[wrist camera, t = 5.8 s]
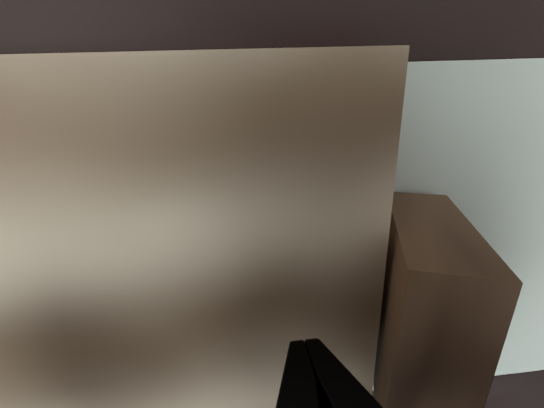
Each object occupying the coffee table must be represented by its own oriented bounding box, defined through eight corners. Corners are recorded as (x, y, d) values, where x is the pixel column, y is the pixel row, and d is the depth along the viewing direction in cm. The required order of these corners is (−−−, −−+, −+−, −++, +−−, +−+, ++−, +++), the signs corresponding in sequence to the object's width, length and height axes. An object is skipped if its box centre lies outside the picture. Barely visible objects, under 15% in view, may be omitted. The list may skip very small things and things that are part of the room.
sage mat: (554, 363, 17) (559, 367, 17) (334, 389, 16) (335, 394, 16) (670, 55, 12) (680, 54, 11) (350, 64, 11) (353, 63, 10)
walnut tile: (370, 328, 14) (420, 336, 14) (377, 467, 9) (458, 490, 8) (386, 191, 12) (446, 195, 12) (407, 269, 7) (523, 283, 6)
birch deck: (334, 389, 16) (362, 478, 12) (19, 426, 15) (-56, 538, 11) (350, 64, 11) (409, 45, 7) (-143, 77, 9) (-400, 63, 6)
